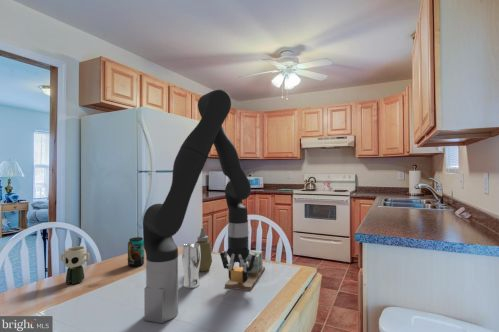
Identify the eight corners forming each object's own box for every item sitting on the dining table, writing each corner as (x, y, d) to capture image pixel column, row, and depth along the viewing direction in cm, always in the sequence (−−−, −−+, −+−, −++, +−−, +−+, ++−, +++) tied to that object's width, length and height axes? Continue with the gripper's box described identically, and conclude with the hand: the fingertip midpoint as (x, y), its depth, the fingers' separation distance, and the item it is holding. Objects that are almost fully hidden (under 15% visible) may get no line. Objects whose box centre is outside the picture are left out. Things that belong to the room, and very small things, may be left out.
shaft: (242, 282, 102) (242, 271, 102) (230, 281, 104) (230, 270, 104) (258, 262, 123) (258, 253, 123) (248, 262, 125) (248, 252, 125)
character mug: (55, 285, 107) (54, 251, 107) (66, 278, 115) (66, 246, 115) (84, 285, 108) (84, 251, 108) (94, 278, 115) (94, 245, 115)
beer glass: (196, 289, 104) (196, 248, 104) (178, 288, 105) (178, 247, 105) (203, 282, 111) (203, 243, 111) (186, 280, 112) (186, 242, 112)
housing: (250, 290, 103) (250, 268, 103) (224, 287, 106) (224, 265, 106) (265, 269, 124) (265, 251, 124) (243, 267, 127) (243, 249, 127)
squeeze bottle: (210, 273, 120) (210, 230, 120) (191, 273, 120) (191, 230, 120) (213, 266, 128) (213, 226, 128) (195, 266, 128) (195, 226, 128)
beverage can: (124, 266, 128) (124, 240, 128) (134, 261, 135) (134, 236, 135) (137, 268, 126) (137, 241, 126) (147, 263, 133) (147, 237, 133)
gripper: (216, 235, 103) (216, 282, 103) (254, 237, 99) (254, 287, 99) (223, 230, 111) (224, 275, 110) (259, 233, 107) (259, 278, 106)
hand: (238, 280), depth 105 cm, fingers closed on shaft, 4 cm apart
